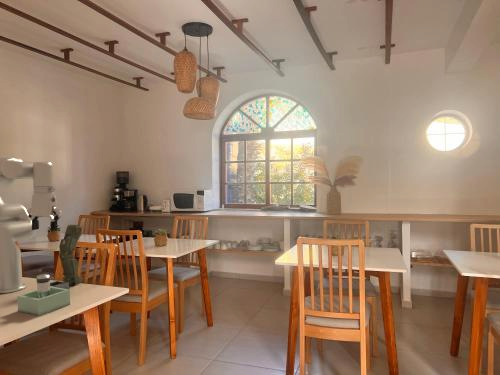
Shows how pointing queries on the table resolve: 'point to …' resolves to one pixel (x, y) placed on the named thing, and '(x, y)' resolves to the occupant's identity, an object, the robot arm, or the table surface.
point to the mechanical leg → (70, 254)
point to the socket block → (60, 284)
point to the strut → (43, 285)
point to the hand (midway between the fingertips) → (44, 229)
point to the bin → (43, 301)
